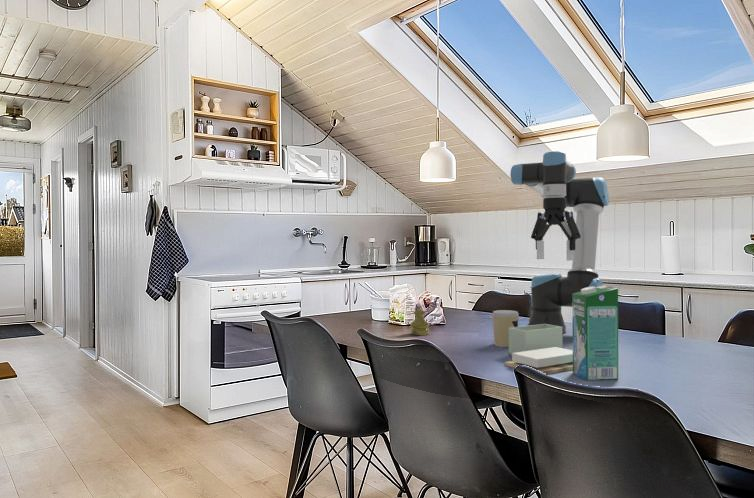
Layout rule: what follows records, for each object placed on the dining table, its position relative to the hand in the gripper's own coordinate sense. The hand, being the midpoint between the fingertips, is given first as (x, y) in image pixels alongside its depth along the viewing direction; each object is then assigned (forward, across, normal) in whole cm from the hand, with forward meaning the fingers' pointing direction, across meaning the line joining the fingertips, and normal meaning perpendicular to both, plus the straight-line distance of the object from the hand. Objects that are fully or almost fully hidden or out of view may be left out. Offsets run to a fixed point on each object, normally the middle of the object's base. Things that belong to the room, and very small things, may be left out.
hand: (554, 259), depth 200 cm
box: (+31, +3, -12) cm, 33 cm away
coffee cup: (+31, -15, -9) cm, 36 cm away
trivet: (+31, +17, -21) cm, 41 cm away
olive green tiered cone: (+31, -51, -22) cm, 64 cm away
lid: (+29, +17, -21) cm, 40 cm away
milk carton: (+31, +33, -19) cm, 49 cm away
